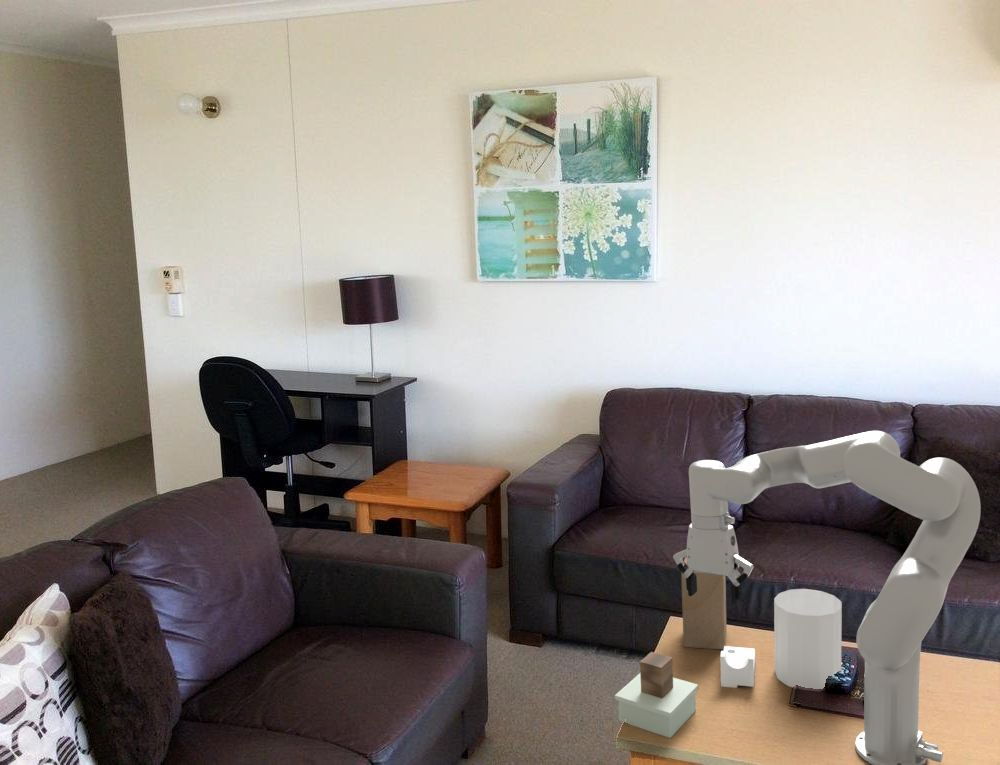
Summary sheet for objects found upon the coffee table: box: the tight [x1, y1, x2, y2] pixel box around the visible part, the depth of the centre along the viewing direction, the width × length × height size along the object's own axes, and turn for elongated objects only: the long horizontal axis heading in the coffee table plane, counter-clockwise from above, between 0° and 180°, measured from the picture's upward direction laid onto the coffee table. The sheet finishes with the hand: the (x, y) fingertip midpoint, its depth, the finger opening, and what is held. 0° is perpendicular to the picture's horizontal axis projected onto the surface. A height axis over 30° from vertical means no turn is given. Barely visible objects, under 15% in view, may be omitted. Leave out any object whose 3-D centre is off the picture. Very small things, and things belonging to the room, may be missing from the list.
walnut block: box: [639, 651, 674, 698], centre depth 185 cm, size 5×5×7 cm
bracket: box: [719, 645, 756, 689], centre depth 201 cm, size 13×7×8 cm, turn 162°
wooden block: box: [680, 556, 727, 651], centre depth 217 cm, size 10×10×20 cm
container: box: [773, 588, 843, 689], centre depth 197 cm, size 14×14×18 cm
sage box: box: [614, 672, 699, 739], centre depth 186 cm, size 13×13×6 cm
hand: (714, 597), depth 183 cm, fingers open, 9 cm apart
